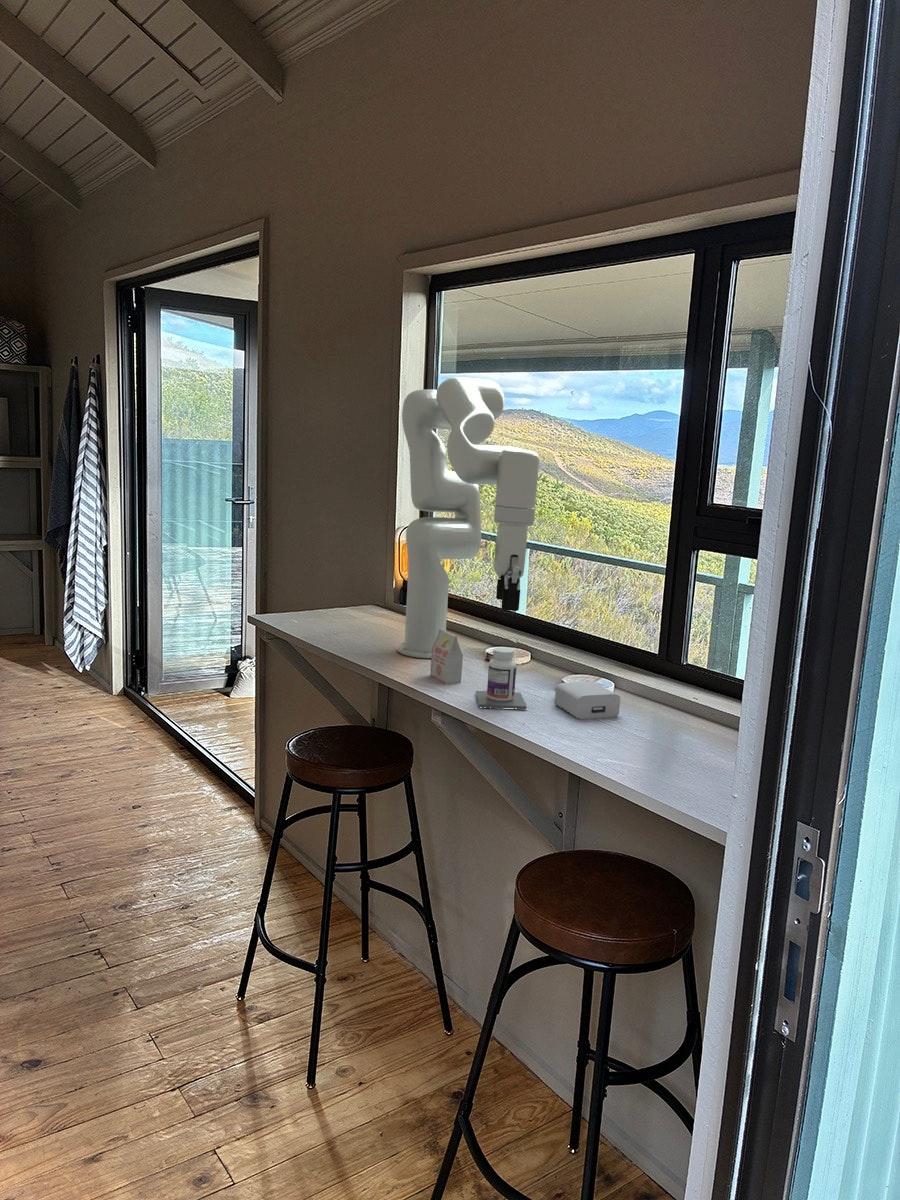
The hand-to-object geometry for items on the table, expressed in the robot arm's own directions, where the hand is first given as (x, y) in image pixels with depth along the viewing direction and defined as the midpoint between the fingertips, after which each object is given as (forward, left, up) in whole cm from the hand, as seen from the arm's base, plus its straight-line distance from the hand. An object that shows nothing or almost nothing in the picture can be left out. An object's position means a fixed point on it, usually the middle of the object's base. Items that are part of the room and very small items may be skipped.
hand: (506, 604), depth 175 cm
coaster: (0, 0, -19) cm, 19 cm away
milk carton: (-15, -10, -20) cm, 26 cm away
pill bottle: (0, 0, -19) cm, 19 cm away
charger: (0, +16, -20) cm, 25 cm away
